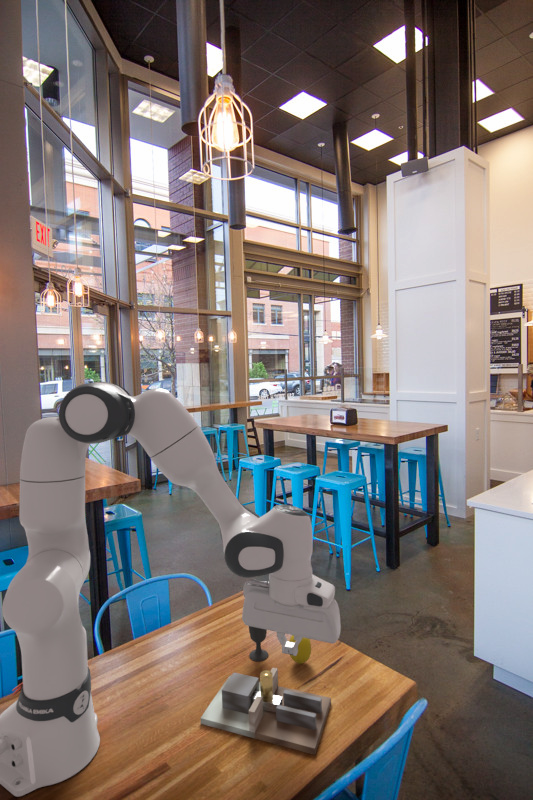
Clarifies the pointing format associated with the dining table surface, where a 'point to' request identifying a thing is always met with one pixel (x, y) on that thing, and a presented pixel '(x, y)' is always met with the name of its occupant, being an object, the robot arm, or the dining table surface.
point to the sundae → (258, 643)
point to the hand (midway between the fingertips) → (289, 653)
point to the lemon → (302, 650)
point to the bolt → (267, 692)
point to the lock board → (269, 713)
